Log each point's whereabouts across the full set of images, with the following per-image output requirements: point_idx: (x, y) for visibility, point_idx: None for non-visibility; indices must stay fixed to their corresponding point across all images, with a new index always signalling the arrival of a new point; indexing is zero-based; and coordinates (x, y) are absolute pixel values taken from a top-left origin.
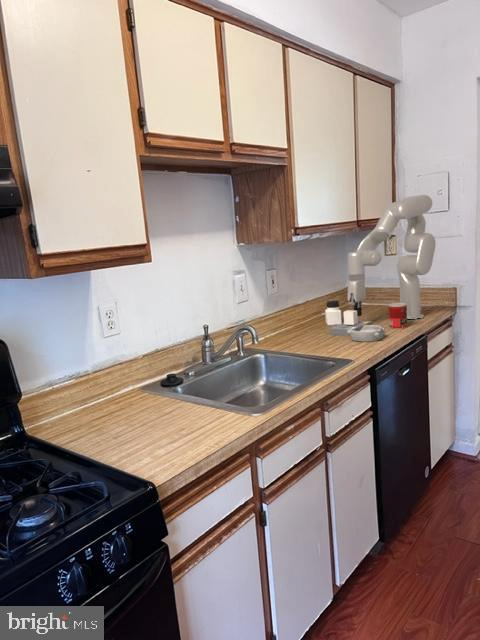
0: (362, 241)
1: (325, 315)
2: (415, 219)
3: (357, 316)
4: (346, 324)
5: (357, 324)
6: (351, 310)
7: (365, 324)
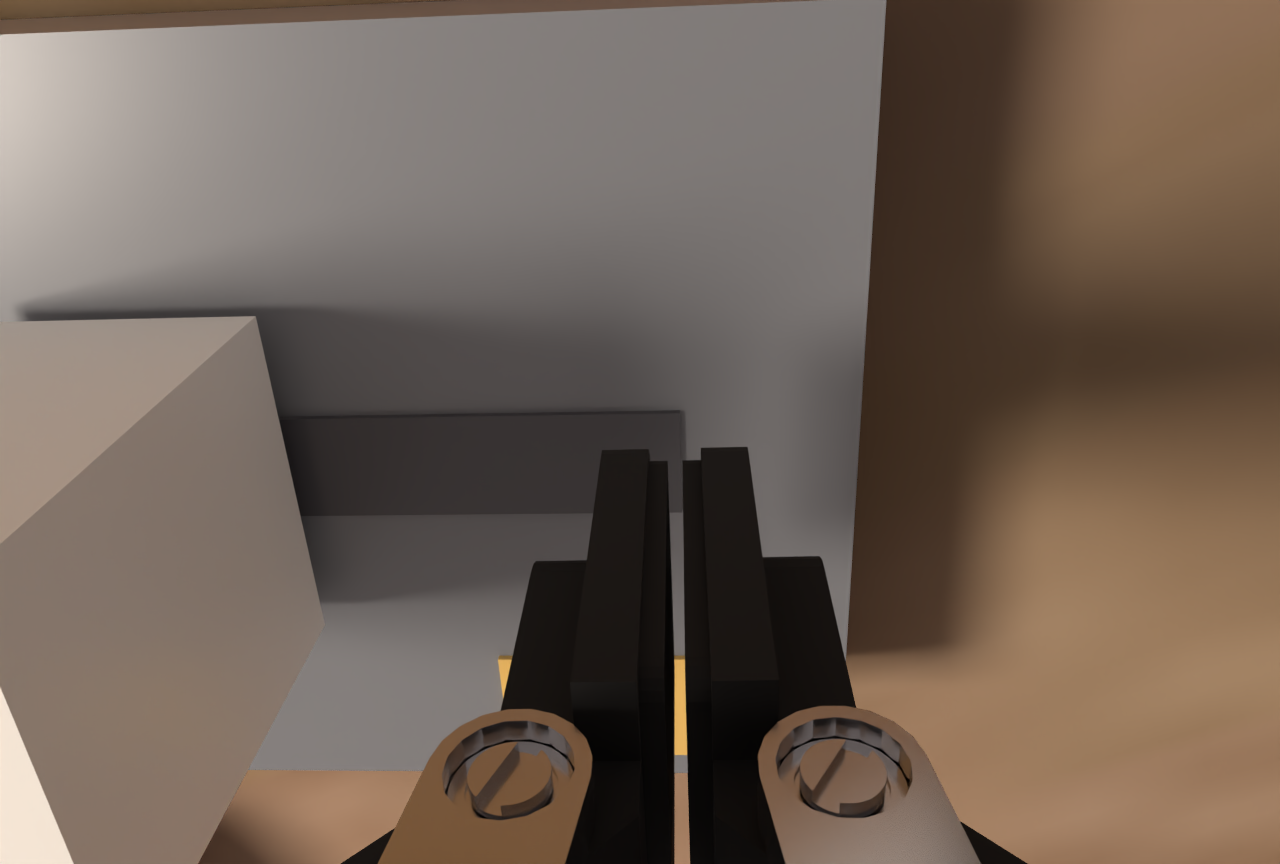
0: None
1: None
2: None
3: (235, 785)
4: (129, 313)
5: None
6: (26, 779)
7: (411, 767)
